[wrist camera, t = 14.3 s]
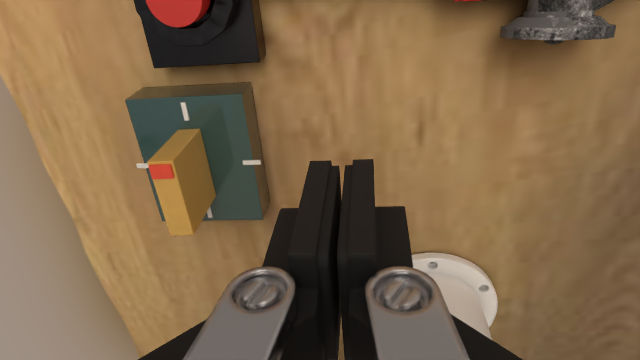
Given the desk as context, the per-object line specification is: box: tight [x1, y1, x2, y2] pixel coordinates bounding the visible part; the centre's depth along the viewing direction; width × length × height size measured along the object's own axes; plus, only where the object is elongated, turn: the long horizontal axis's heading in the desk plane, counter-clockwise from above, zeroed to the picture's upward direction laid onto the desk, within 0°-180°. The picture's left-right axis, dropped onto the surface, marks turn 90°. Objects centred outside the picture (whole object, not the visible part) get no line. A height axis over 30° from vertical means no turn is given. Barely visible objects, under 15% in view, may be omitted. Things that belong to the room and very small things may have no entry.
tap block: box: [125, 82, 270, 221], centre depth 36 cm, size 11×10×3 cm
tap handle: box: [147, 129, 216, 236], centre depth 32 cm, size 6×2×6 cm, turn 5°
